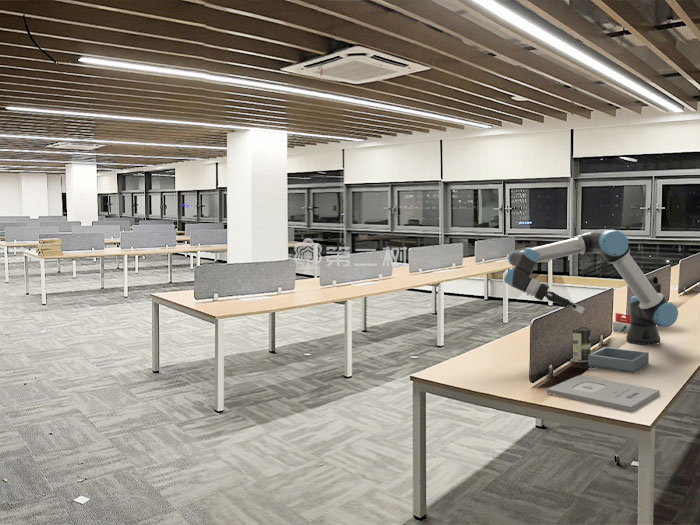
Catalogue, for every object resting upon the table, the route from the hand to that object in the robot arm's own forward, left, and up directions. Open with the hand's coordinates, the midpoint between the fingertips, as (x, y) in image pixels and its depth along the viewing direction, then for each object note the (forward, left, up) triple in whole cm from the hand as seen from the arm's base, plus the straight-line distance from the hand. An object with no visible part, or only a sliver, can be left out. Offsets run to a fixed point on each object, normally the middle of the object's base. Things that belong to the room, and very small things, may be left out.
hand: (582, 311), depth 260 cm
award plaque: (+34, +40, -22) cm, 57 cm away
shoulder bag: (-90, -34, -22) cm, 99 cm away
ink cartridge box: (-61, -29, -22) cm, 71 cm away
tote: (-3, +16, -21) cm, 27 cm away
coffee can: (+3, 0, -22) cm, 22 cm away
